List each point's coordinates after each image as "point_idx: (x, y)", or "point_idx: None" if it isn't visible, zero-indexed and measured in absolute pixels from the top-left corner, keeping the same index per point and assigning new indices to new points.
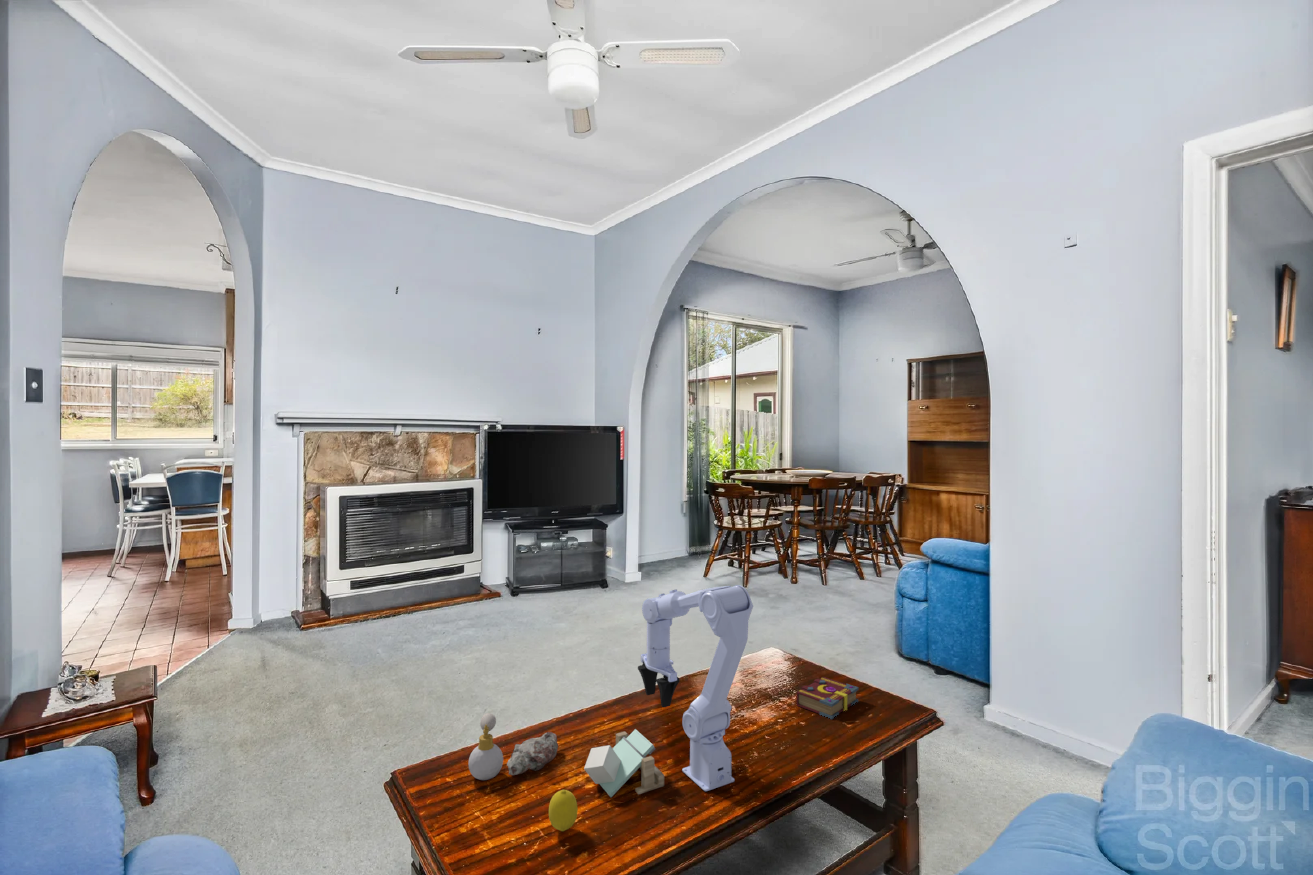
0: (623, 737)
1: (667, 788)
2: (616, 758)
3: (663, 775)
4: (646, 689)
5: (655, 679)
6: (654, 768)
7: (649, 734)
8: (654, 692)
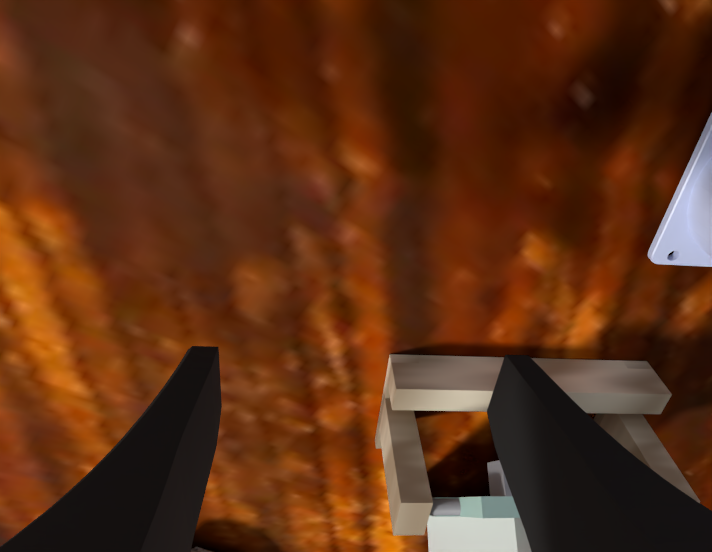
0: (436, 514)
1: (668, 359)
2: (521, 547)
3: (669, 396)
4: (210, 463)
5: (179, 458)
6: (606, 401)
7: (241, 195)
8: (217, 355)
